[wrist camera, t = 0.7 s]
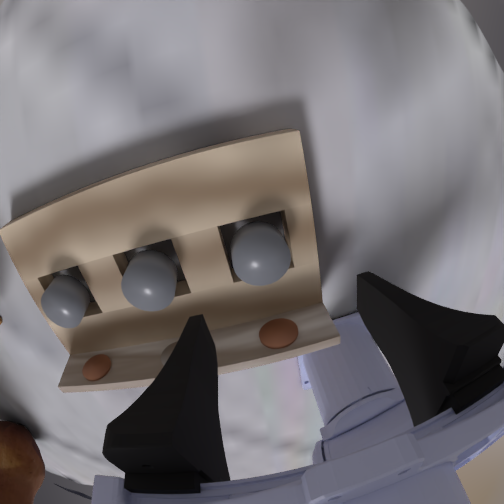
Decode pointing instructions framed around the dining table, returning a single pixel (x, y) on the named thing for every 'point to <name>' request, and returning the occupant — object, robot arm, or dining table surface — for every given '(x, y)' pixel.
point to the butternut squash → (19, 465)
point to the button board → (190, 257)
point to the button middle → (150, 281)
